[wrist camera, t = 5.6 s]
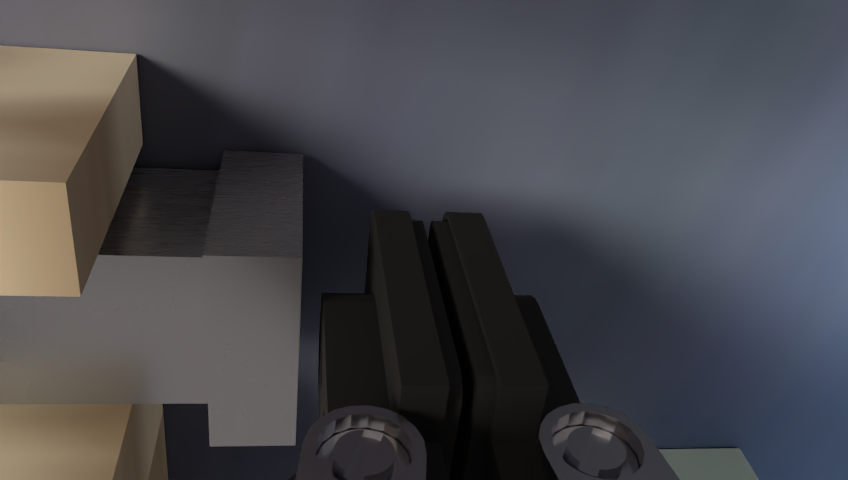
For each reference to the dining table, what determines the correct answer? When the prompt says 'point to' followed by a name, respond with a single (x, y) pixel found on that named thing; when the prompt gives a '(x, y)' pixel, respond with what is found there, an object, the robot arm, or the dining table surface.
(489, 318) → the robot arm
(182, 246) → the bar
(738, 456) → the square tray
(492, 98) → the dining table surface
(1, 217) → the socket block
